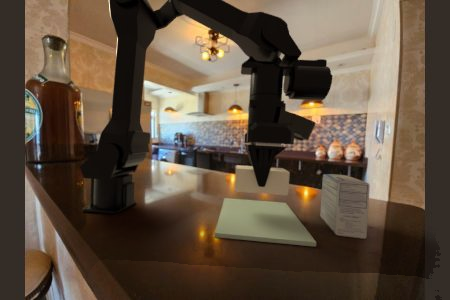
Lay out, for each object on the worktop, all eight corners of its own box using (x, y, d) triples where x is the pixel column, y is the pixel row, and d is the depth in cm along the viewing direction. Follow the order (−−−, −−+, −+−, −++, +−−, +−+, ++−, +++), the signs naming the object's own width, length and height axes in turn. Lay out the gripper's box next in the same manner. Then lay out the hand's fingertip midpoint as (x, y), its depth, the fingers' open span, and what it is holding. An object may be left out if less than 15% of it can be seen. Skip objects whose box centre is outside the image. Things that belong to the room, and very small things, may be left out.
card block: (288, 195, 31) (289, 171, 31) (234, 191, 32) (236, 168, 32) (281, 188, 36) (282, 168, 36) (235, 185, 37) (236, 165, 37)
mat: (214, 237, 26) (214, 232, 26) (224, 200, 43) (224, 198, 43) (316, 246, 25) (316, 242, 25) (285, 205, 42) (285, 202, 42)
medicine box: (367, 240, 28) (371, 183, 27) (334, 236, 29) (338, 180, 28) (344, 219, 35) (347, 175, 35) (319, 216, 36) (322, 173, 36)
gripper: (339, 81, 23) (330, 203, 24) (295, 109, 42) (290, 177, 43) (251, 79, 24) (244, 196, 25) (246, 107, 43) (242, 174, 43)
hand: (259, 183), depth 34 cm, fingers closed on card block, 5 cm apart
